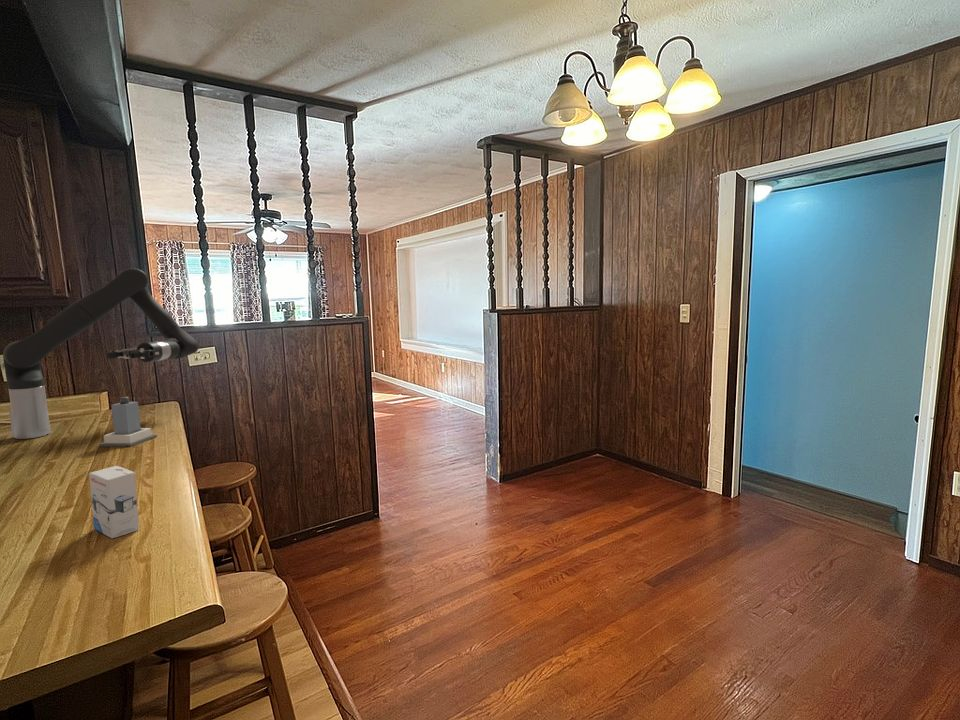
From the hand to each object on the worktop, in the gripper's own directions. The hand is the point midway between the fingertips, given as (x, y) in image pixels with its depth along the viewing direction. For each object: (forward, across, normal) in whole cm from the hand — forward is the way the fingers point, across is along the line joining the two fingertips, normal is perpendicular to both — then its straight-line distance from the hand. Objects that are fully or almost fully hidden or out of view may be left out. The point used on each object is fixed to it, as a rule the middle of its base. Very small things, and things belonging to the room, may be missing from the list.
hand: (119, 355), depth 171 cm
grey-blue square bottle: (+12, +11, +26) cm, 31 cm away
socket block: (+12, +11, +27) cm, 32 cm away
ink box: (+71, +60, +28) cm, 97 cm away
